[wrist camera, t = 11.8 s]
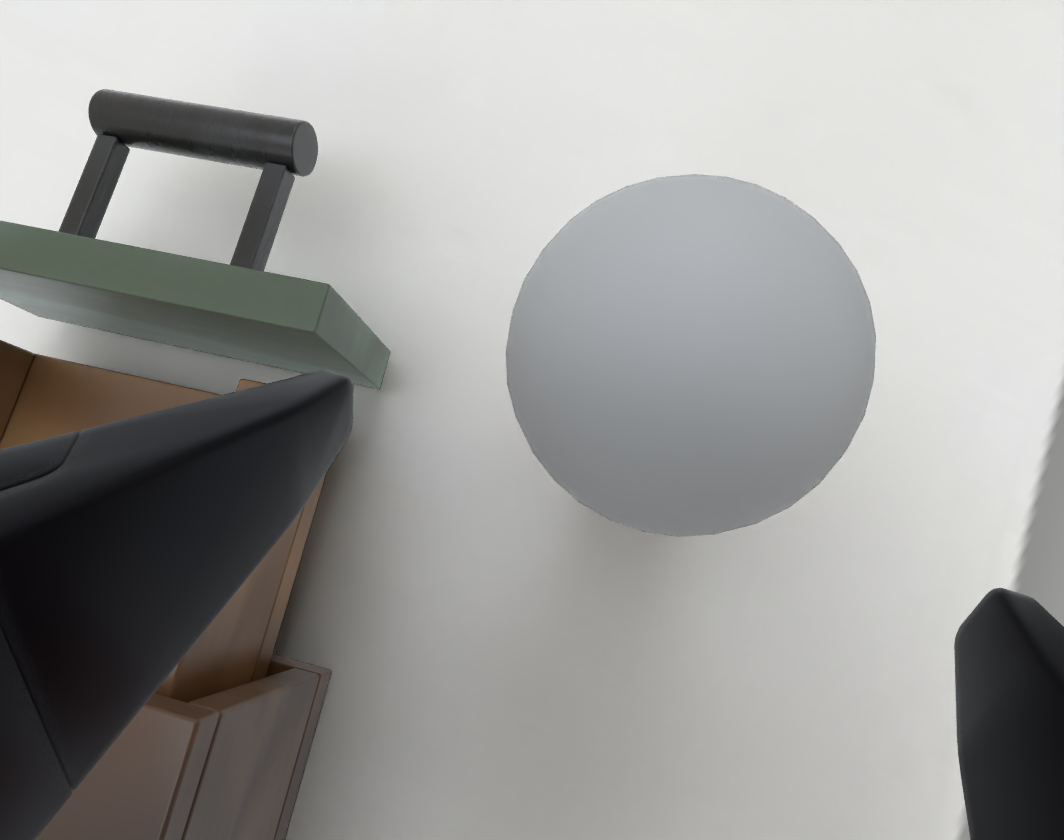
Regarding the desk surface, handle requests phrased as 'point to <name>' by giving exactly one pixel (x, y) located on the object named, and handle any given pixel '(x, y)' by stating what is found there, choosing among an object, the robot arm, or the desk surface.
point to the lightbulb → (690, 355)
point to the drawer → (180, 328)
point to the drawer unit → (203, 765)
